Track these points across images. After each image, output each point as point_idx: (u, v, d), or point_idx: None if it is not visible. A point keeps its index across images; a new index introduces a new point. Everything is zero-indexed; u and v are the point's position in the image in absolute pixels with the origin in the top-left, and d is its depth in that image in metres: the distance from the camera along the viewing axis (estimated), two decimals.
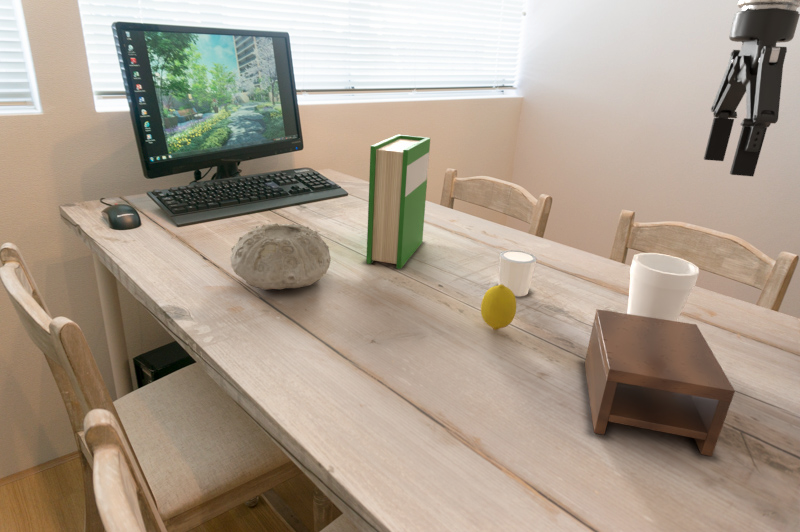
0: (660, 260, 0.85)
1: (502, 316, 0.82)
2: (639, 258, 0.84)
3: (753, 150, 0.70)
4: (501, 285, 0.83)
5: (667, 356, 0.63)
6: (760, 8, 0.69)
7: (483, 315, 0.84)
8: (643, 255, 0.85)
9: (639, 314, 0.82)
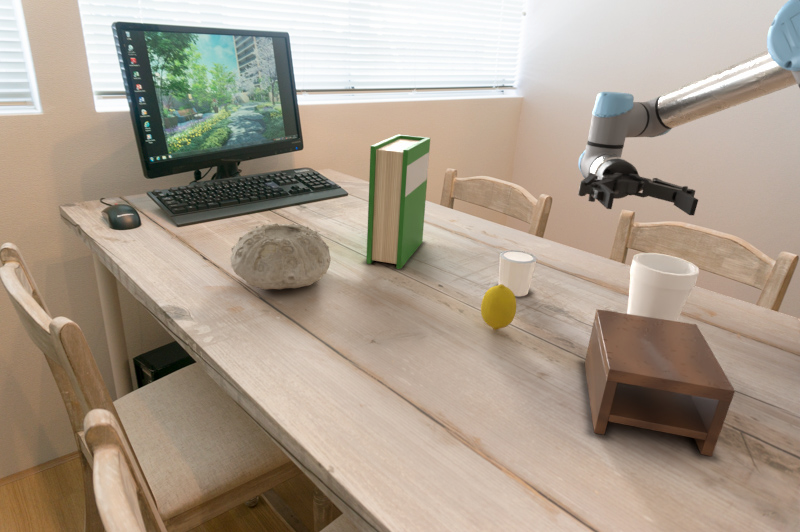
0: (660, 260, 0.85)
1: (502, 316, 0.82)
2: (639, 258, 0.84)
3: (596, 194, 0.92)
4: (501, 285, 0.83)
5: (667, 356, 0.63)
6: None
7: (483, 315, 0.84)
8: (643, 255, 0.85)
9: (639, 314, 0.82)
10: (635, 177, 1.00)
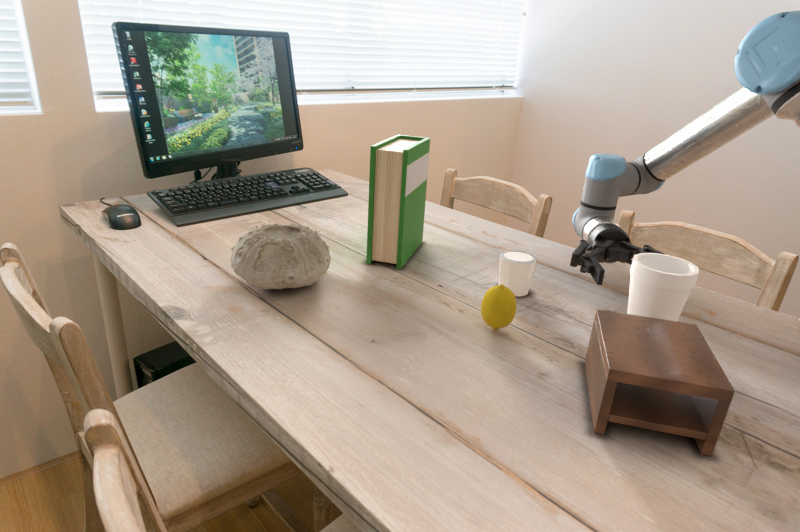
0: (660, 260, 0.85)
1: (502, 316, 0.82)
2: (639, 258, 0.84)
3: (587, 268, 0.93)
4: (501, 285, 0.83)
5: (667, 356, 0.63)
6: None
7: (483, 315, 0.84)
8: (643, 255, 0.85)
9: (639, 314, 0.82)
10: (626, 245, 1.02)
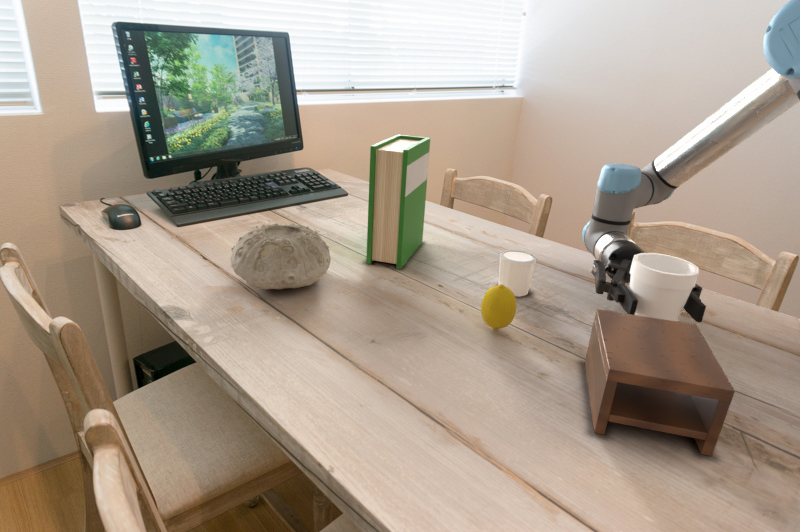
0: (660, 260, 0.85)
1: (502, 316, 0.82)
2: (639, 258, 0.84)
3: (617, 296, 0.83)
4: (501, 285, 0.83)
5: (667, 356, 0.63)
6: None
7: (483, 315, 0.84)
8: (643, 255, 0.85)
9: (639, 314, 0.82)
10: None
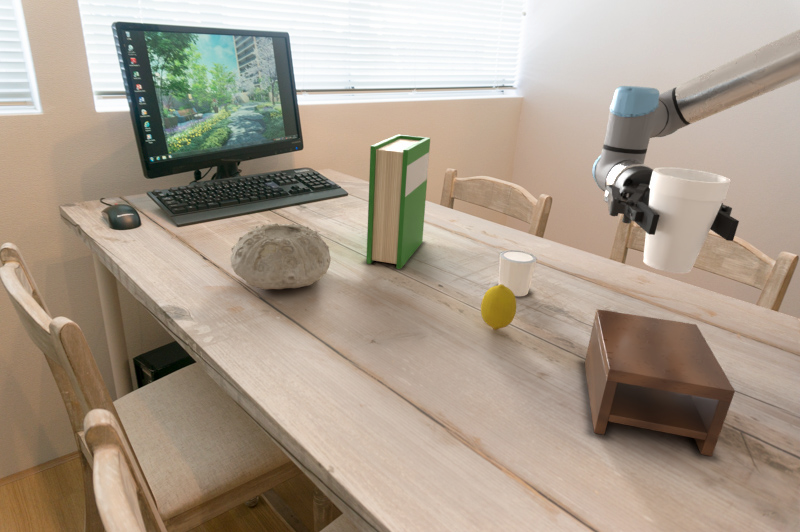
0: (684, 175, 0.74)
1: (502, 316, 0.82)
2: (660, 172, 0.74)
3: (634, 215, 0.72)
4: (501, 285, 0.83)
5: (667, 356, 0.63)
6: None
7: (483, 315, 0.84)
8: (664, 169, 0.74)
9: (660, 234, 0.72)
10: None
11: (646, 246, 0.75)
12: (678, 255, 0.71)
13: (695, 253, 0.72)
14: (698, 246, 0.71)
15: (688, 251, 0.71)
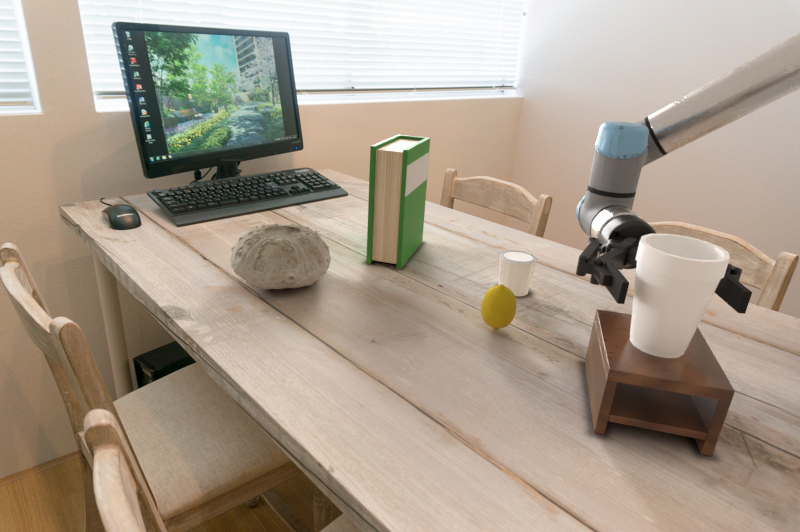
0: (676, 243, 0.65)
1: (502, 316, 0.82)
2: (648, 240, 0.64)
3: (602, 278, 0.64)
4: (501, 285, 0.83)
5: None
6: None
7: (483, 315, 0.84)
8: (653, 236, 0.64)
9: (648, 314, 0.62)
10: None
11: (633, 324, 0.65)
12: (669, 339, 0.62)
13: (689, 336, 0.62)
14: (692, 328, 0.61)
15: (681, 335, 0.61)
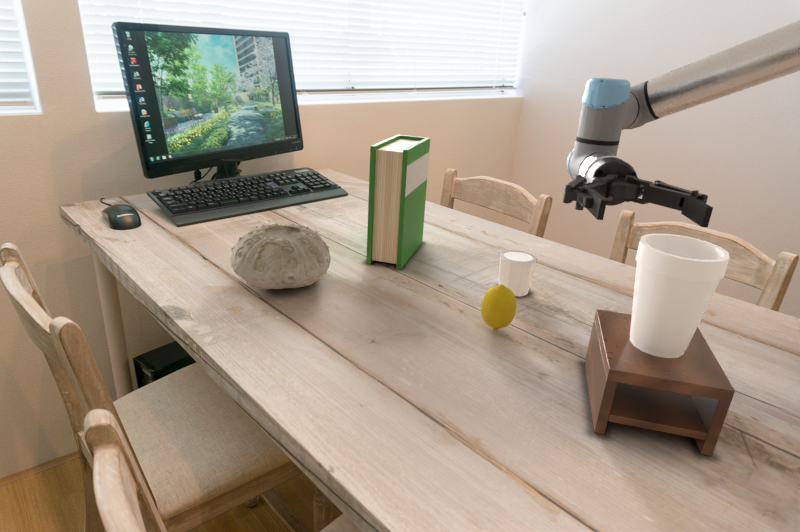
0: (675, 243, 0.65)
1: (502, 316, 0.82)
2: (648, 240, 0.64)
3: (584, 201, 0.73)
4: (501, 285, 0.83)
5: None
6: None
7: (483, 315, 0.84)
8: (653, 236, 0.64)
9: (648, 314, 0.62)
10: (633, 179, 0.82)
11: (633, 324, 0.65)
12: (669, 339, 0.62)
13: (689, 336, 0.62)
14: (692, 328, 0.61)
15: (680, 334, 0.61)
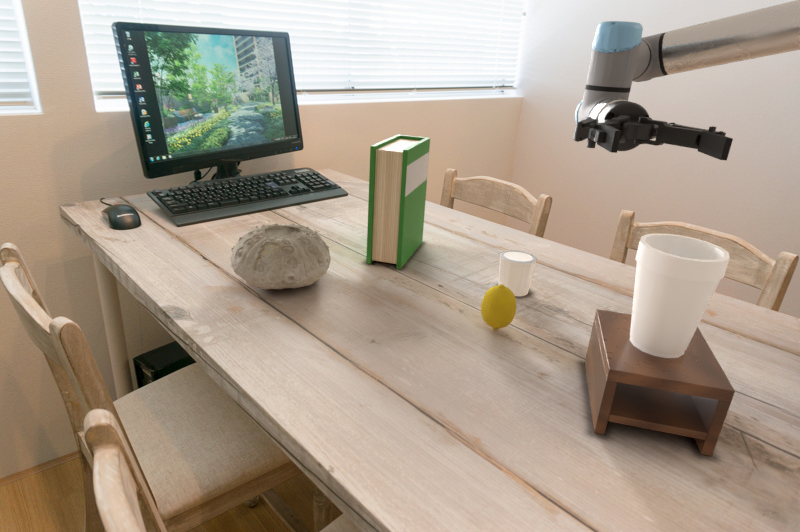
0: (675, 243, 0.65)
1: (502, 316, 0.82)
2: (648, 240, 0.64)
3: (597, 135, 0.70)
4: (501, 285, 0.83)
5: None
6: None
7: (483, 315, 0.84)
8: (653, 236, 0.64)
9: (648, 314, 0.62)
10: (646, 120, 0.78)
11: (633, 324, 0.65)
12: (669, 339, 0.62)
13: (689, 336, 0.62)
14: (692, 328, 0.61)
15: (680, 334, 0.61)
